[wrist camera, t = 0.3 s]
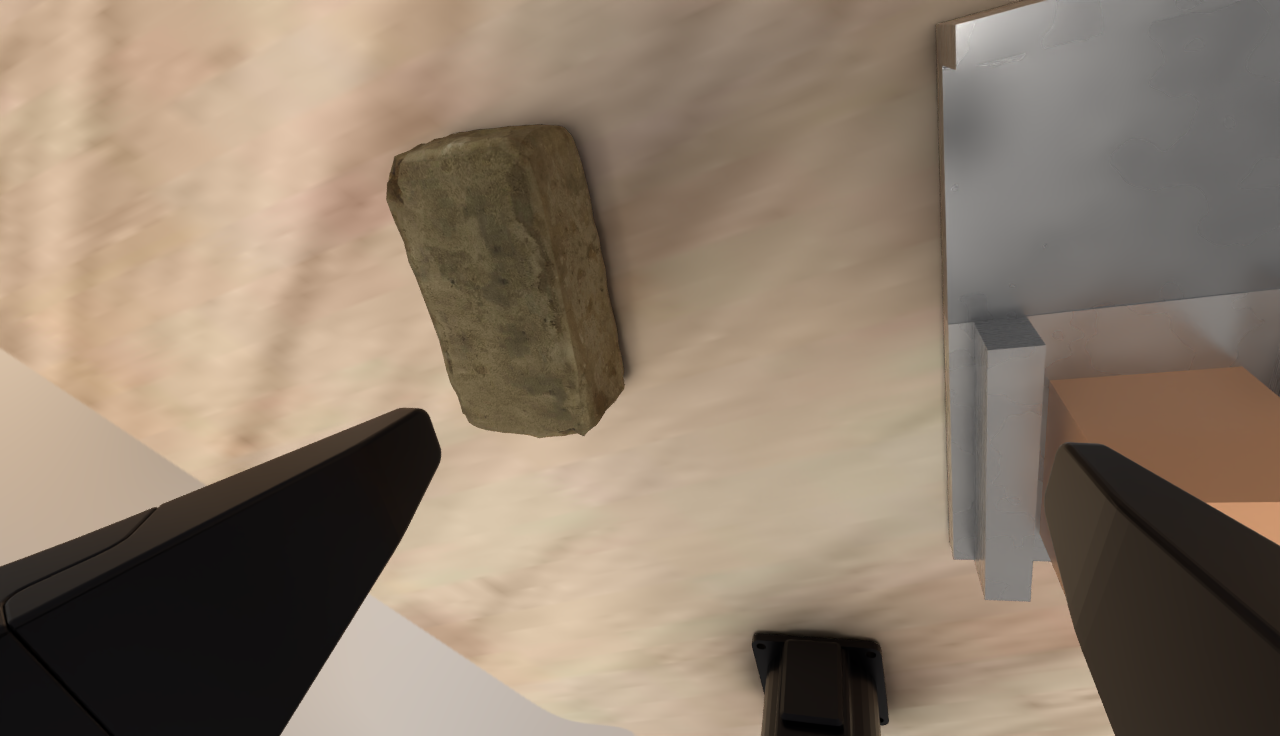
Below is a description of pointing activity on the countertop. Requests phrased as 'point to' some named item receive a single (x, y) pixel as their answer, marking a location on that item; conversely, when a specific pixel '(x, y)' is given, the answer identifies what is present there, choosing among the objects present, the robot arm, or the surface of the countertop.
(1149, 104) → the chute
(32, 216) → the countertop surface
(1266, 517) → the block
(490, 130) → the stone block
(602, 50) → the countertop surface
